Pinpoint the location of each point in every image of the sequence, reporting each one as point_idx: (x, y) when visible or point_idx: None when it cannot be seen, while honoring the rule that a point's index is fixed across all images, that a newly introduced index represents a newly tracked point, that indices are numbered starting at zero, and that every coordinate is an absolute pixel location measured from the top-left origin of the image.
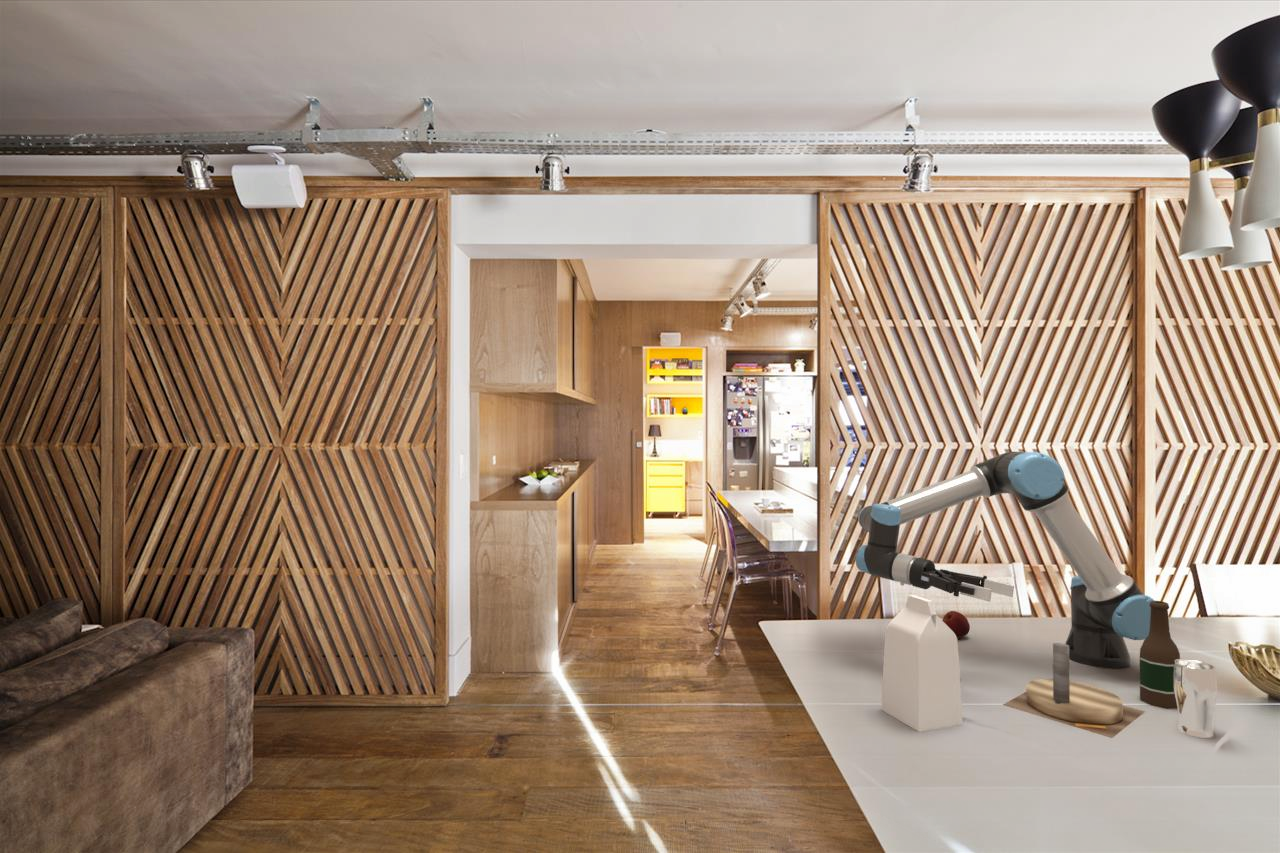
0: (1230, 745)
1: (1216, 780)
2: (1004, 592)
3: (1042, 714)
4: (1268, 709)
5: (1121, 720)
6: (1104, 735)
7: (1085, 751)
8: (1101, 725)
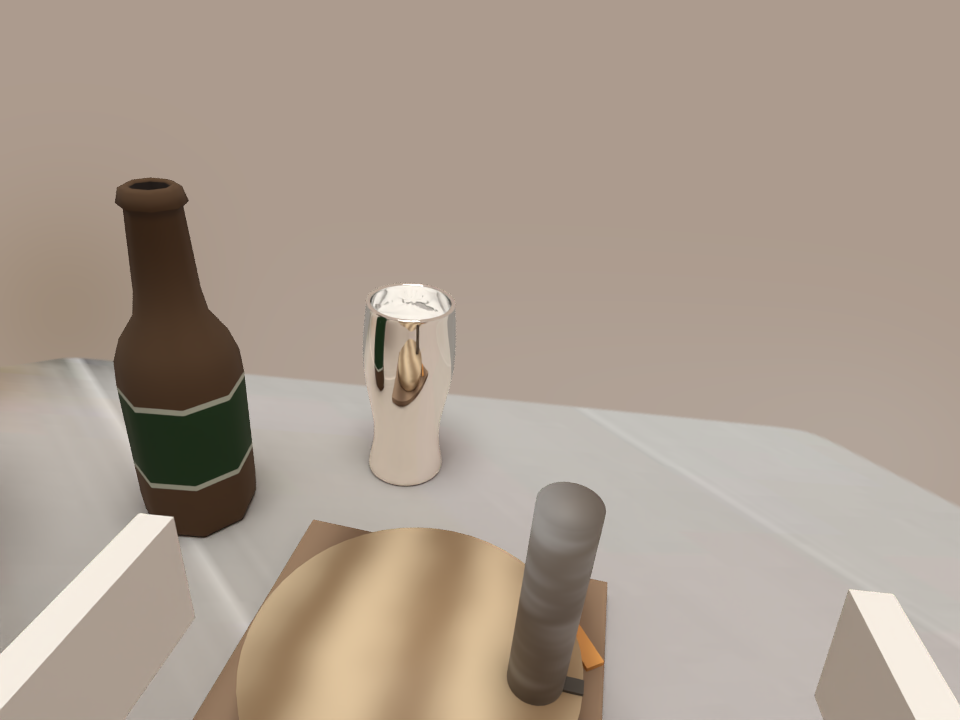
0: None
1: (631, 455)
2: (145, 656)
3: None
4: None
5: None
6: (606, 597)
7: (725, 647)
8: None
